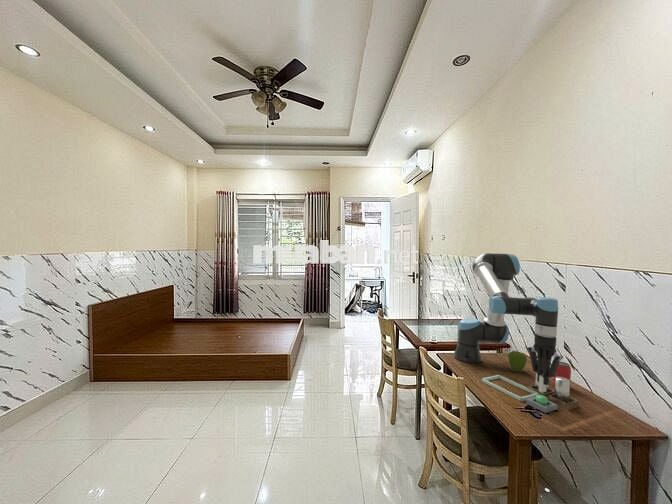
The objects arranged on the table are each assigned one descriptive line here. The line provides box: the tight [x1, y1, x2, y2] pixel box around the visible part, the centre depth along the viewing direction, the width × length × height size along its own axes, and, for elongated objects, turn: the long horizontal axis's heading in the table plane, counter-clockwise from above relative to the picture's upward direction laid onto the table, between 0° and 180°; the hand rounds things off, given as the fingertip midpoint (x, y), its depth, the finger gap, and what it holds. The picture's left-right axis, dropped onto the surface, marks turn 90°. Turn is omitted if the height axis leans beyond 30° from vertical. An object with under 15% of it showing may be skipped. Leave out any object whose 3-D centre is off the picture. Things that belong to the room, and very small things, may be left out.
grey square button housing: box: [525, 396, 559, 414], centre depth 129 cm, size 8×8×3 cm
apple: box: [507, 350, 528, 373], centre depth 168 cm, size 9×8×12 cm
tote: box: [480, 374, 540, 402], centre depth 145 cm, size 21×13×2 cm, turn 25°
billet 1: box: [534, 372, 549, 393], centre depth 141 cm, size 5×5×10 cm
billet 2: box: [554, 377, 571, 403], centre depth 133 cm, size 5×5×10 cm
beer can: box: [552, 361, 572, 386], centre depth 150 cm, size 7×7×12 cm
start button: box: [536, 395, 548, 406], centre depth 129 cm, size 4×4×3 cm
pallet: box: [524, 384, 582, 411], centre depth 137 cm, size 18×10×3 cm, turn 25°
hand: (542, 391), depth 129 cm, fingers closed
